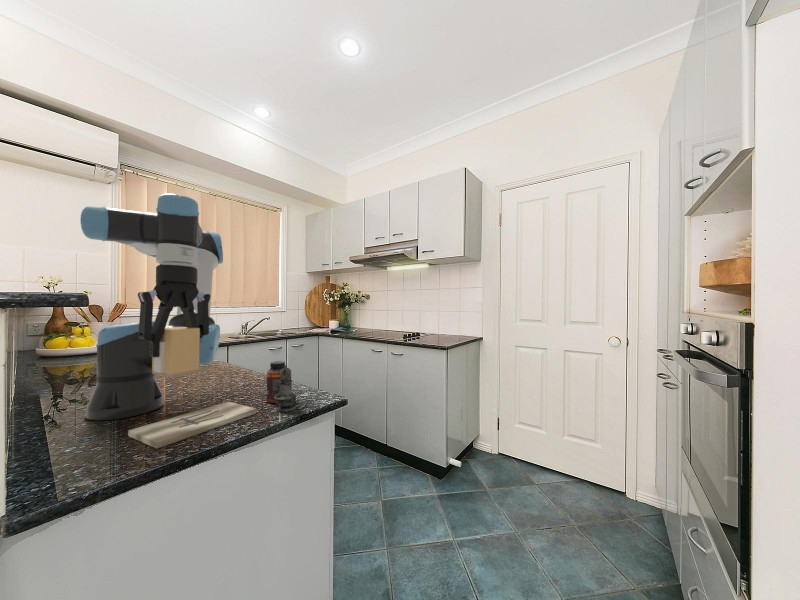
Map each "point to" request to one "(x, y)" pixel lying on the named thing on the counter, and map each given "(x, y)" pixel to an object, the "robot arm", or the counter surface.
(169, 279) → the robot arm
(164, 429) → the birch board
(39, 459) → the counter surface
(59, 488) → the counter surface
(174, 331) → the block
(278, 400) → the grey chess piece
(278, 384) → the supplement bottle
